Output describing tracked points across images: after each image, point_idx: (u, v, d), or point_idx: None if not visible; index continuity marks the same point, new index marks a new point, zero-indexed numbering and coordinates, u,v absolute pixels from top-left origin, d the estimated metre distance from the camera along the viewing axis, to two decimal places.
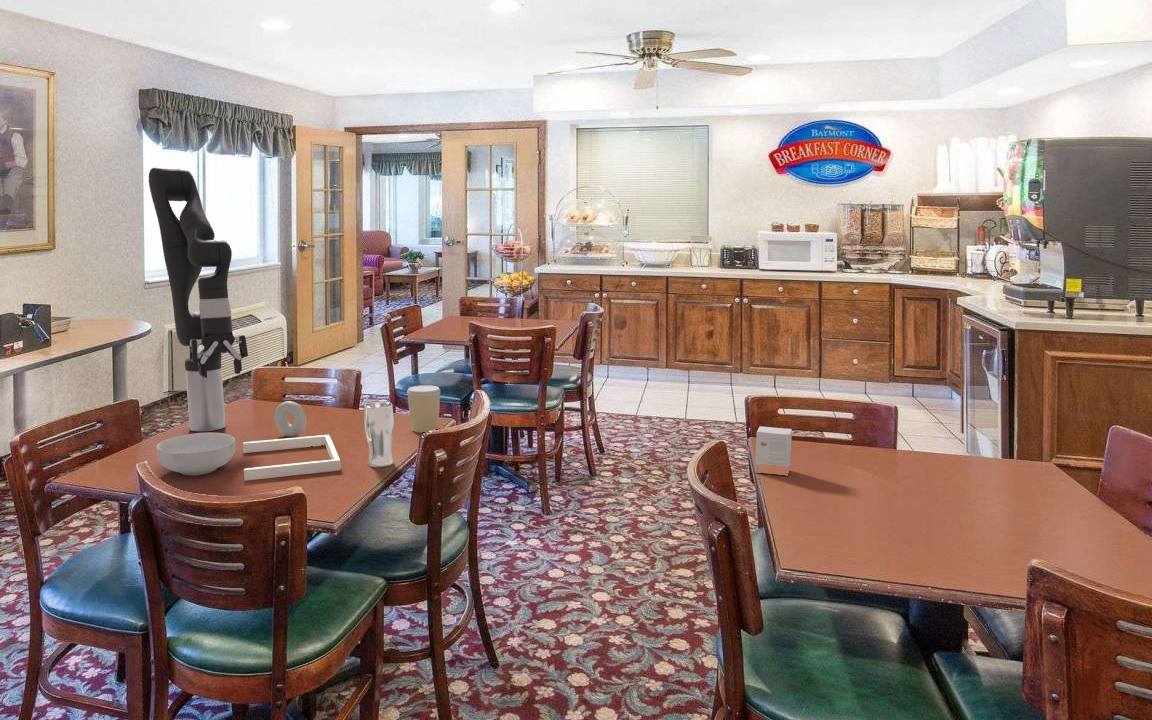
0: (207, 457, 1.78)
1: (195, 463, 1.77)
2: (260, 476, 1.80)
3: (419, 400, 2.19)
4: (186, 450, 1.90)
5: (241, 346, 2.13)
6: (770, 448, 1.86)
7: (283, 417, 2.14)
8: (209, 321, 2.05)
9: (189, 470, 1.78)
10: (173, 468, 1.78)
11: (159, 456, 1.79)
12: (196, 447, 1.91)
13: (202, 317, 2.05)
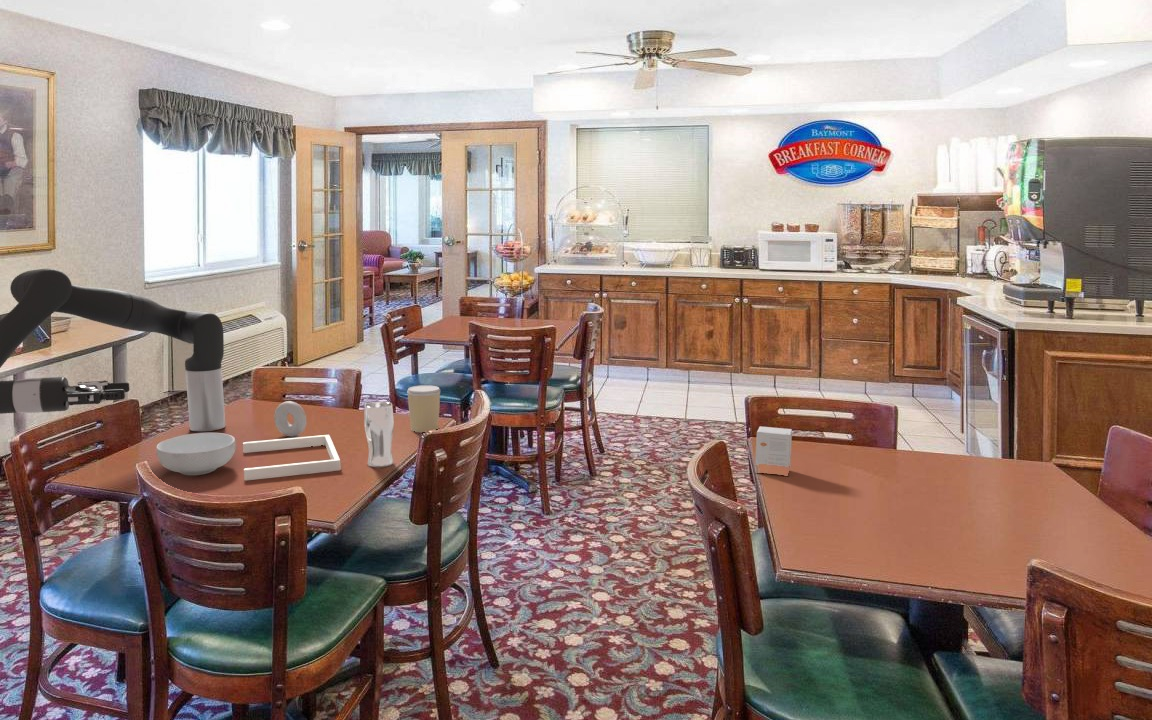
0: (207, 457, 1.78)
1: (195, 463, 1.77)
2: (260, 476, 1.80)
3: (419, 400, 2.19)
4: (186, 450, 1.90)
5: None
6: (770, 448, 1.86)
7: (283, 417, 2.14)
8: None
9: (189, 470, 1.78)
10: (173, 468, 1.78)
11: (159, 456, 1.79)
12: (196, 447, 1.91)
13: None
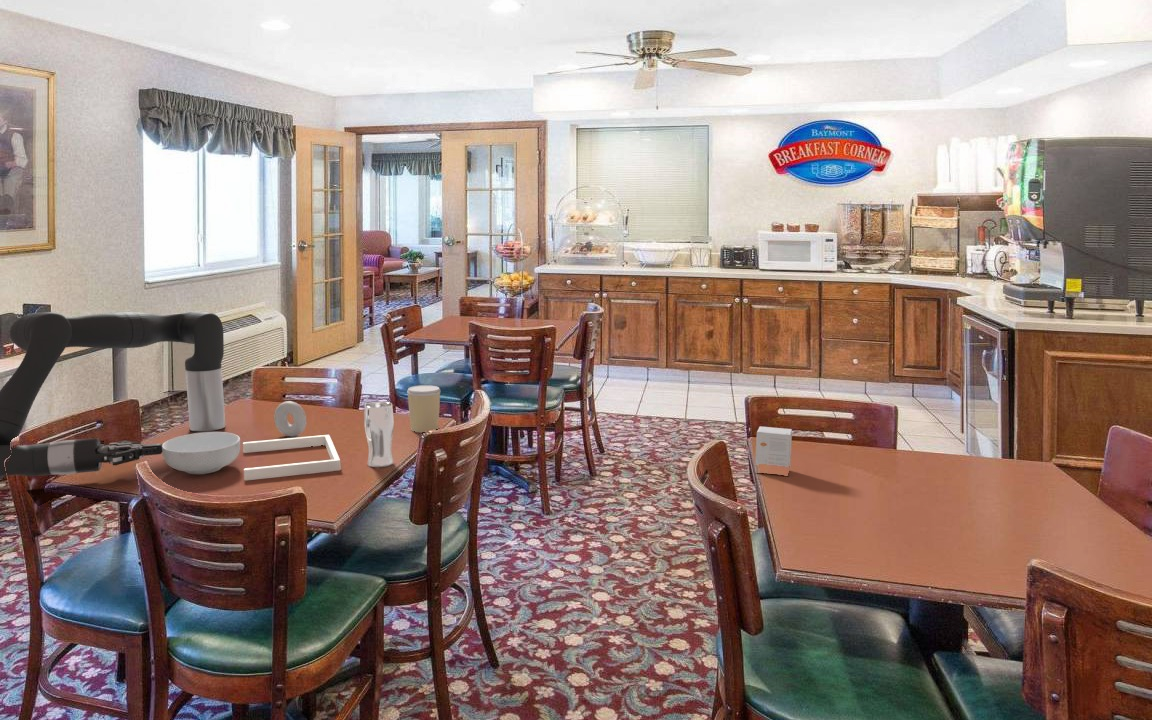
0: (213, 456, 1.79)
1: (201, 462, 1.78)
2: (260, 476, 1.80)
3: (419, 400, 2.19)
4: (191, 449, 1.90)
5: None
6: (770, 448, 1.86)
7: (283, 417, 2.14)
8: None
9: (195, 469, 1.79)
10: (179, 467, 1.78)
11: (165, 455, 1.79)
12: (201, 446, 1.92)
13: None
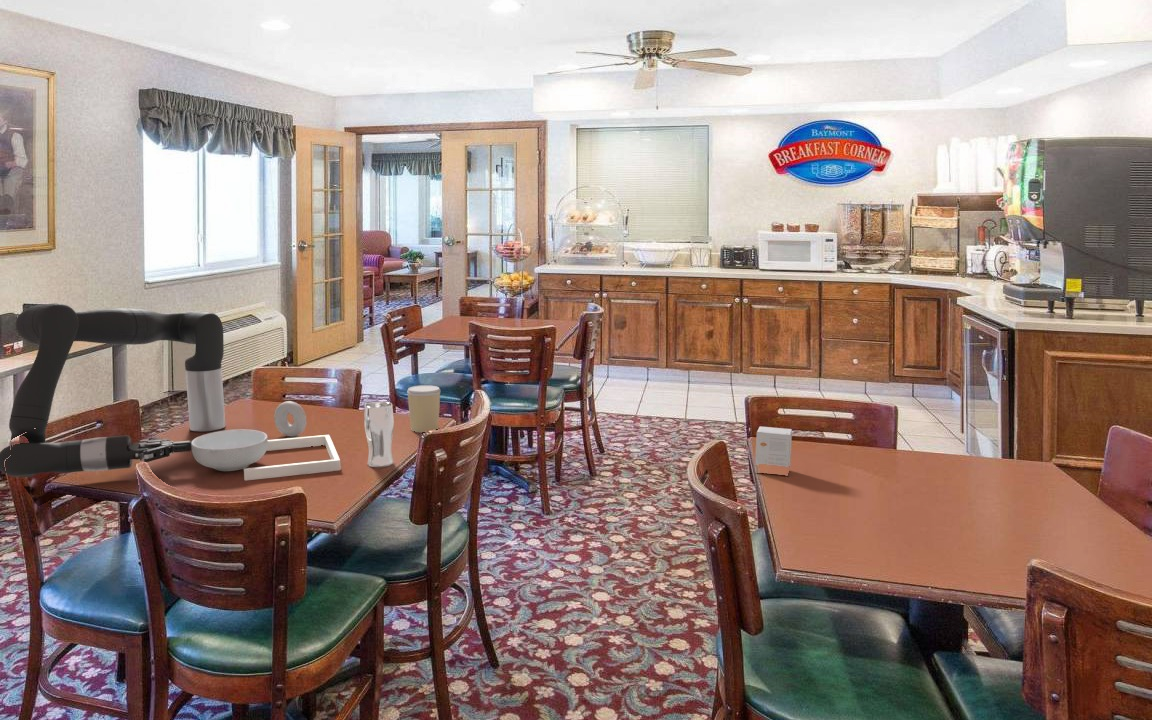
0: (243, 452, 1.82)
1: (231, 459, 1.80)
2: (260, 476, 1.80)
3: (419, 400, 2.19)
4: (218, 447, 1.93)
5: None
6: (770, 448, 1.86)
7: (283, 417, 2.14)
8: None
9: (225, 466, 1.81)
10: (209, 464, 1.81)
11: (195, 453, 1.81)
12: (227, 444, 1.94)
13: None
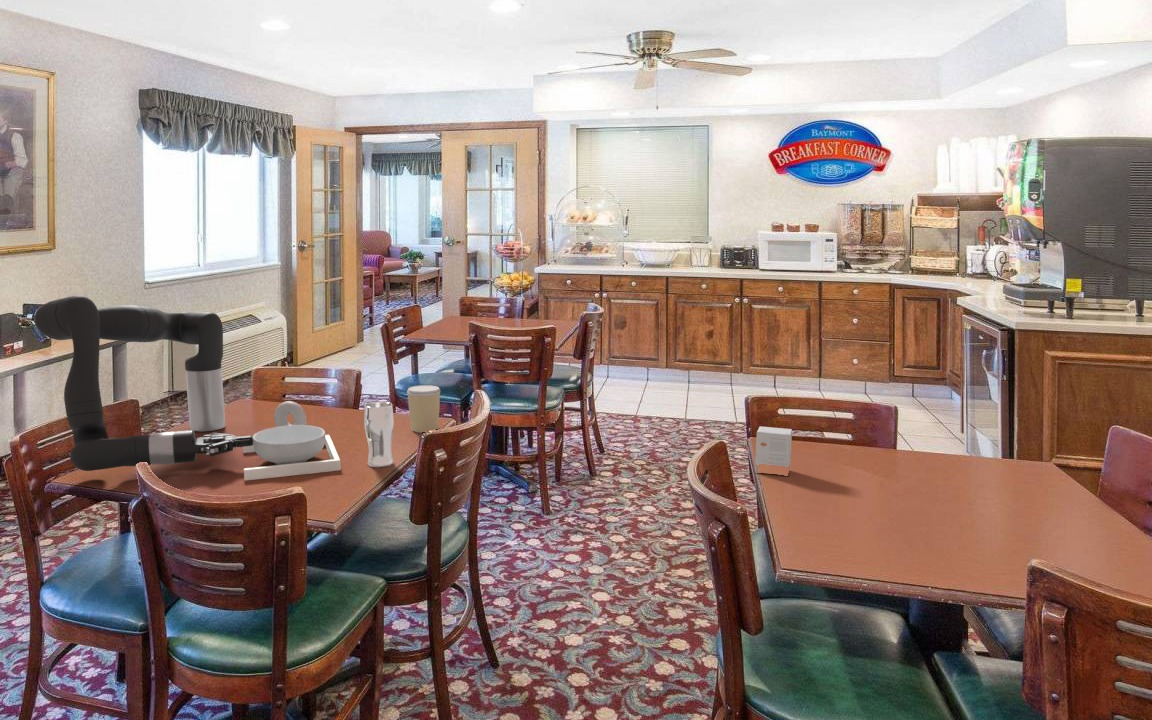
0: (304, 447, 1.86)
1: (293, 453, 1.85)
2: (260, 476, 1.80)
3: (419, 400, 2.19)
4: (276, 442, 1.98)
5: None
6: (770, 448, 1.86)
7: (283, 417, 2.14)
8: None
9: (287, 460, 1.86)
10: (271, 458, 1.86)
11: (257, 447, 1.86)
12: (284, 439, 1.99)
13: None
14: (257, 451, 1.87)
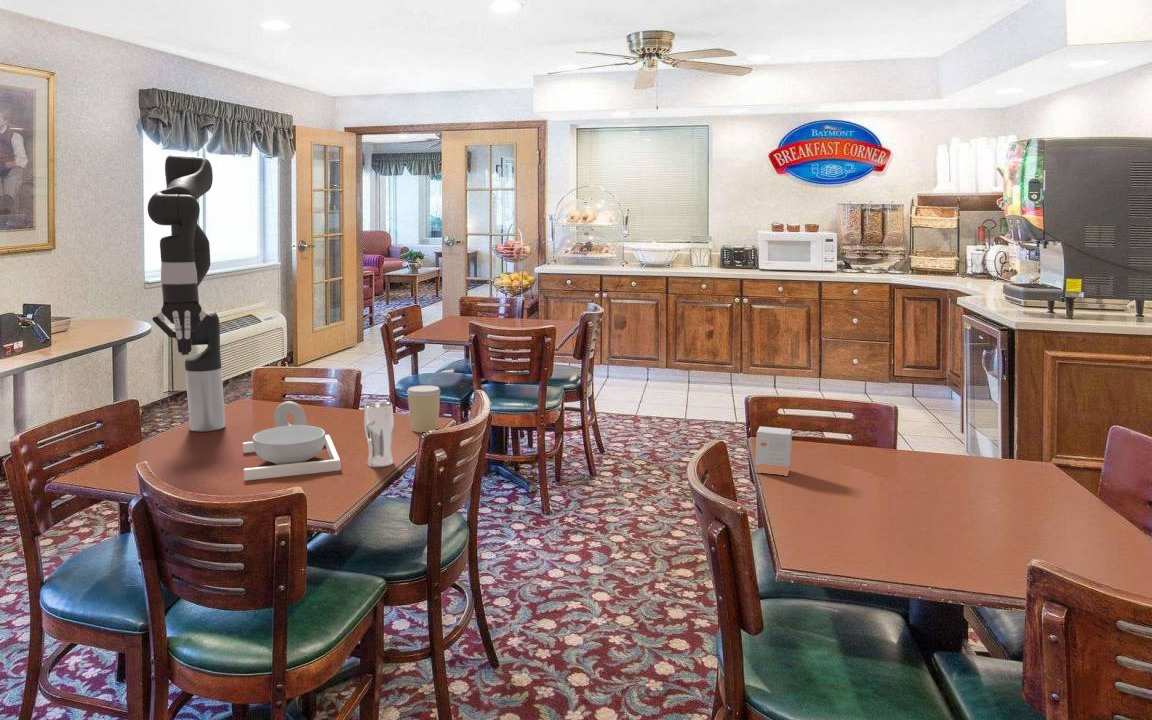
0: (304, 447, 1.86)
1: (293, 453, 1.85)
2: (260, 476, 1.80)
3: (419, 400, 2.19)
4: (276, 442, 1.98)
5: (199, 324, 1.85)
6: (770, 448, 1.86)
7: (283, 417, 2.14)
8: (166, 287, 1.80)
9: (287, 460, 1.86)
10: (271, 459, 1.86)
11: (257, 447, 1.86)
12: (284, 439, 1.99)
13: None
14: (257, 451, 1.87)
